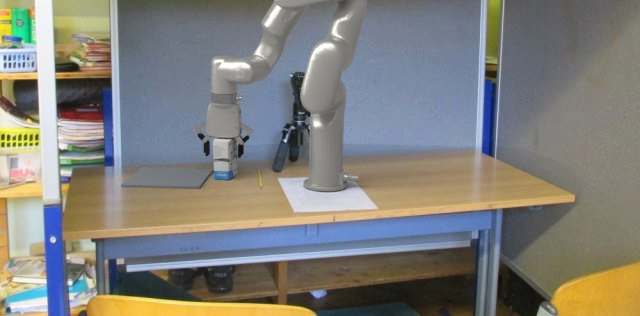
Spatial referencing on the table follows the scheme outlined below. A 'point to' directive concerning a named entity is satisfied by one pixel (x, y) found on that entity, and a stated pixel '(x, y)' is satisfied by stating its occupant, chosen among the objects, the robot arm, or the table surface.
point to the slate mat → (168, 178)
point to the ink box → (225, 158)
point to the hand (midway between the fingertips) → (223, 156)
